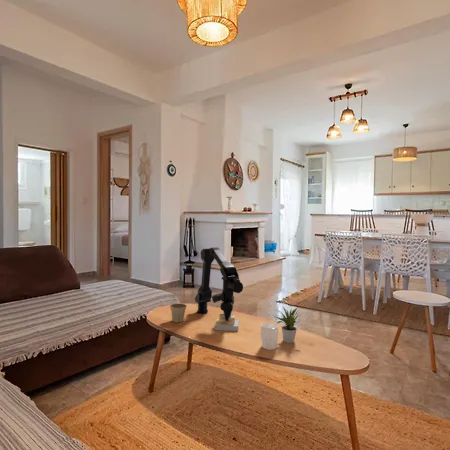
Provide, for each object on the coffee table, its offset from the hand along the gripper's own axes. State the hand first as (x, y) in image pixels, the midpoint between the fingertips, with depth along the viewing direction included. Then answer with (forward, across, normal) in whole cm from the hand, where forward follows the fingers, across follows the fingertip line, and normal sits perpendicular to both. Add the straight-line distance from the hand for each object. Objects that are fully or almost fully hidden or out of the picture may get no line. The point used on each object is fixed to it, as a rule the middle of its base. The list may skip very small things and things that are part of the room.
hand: (227, 318), depth 173 cm
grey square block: (-1, 0, 0) cm, 1 cm away
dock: (+5, 0, 0) cm, 5 cm away
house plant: (+5, +14, +31) cm, 34 cm away
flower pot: (+5, -6, -28) cm, 29 cm away
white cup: (+5, +24, +21) cm, 32 cm away
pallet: (+2, 0, 0) cm, 2 cm away
